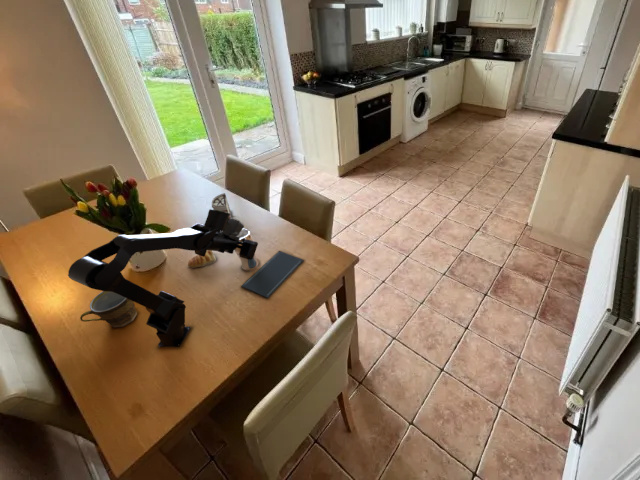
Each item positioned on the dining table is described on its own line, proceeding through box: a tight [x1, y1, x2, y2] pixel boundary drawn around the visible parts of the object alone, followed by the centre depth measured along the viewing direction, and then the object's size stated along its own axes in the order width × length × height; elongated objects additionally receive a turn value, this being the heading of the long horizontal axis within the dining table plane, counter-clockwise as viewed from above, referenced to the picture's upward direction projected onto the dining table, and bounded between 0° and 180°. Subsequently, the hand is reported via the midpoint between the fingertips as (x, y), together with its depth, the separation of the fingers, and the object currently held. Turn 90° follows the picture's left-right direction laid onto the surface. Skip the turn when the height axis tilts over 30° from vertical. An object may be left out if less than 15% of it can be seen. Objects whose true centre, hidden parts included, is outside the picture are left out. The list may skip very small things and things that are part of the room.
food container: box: [211, 192, 232, 219], centre depth 144 cm, size 12×6×10 cm, turn 25°
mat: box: [241, 250, 304, 299], centre depth 118 cm, size 20×12×1 cm, turn 155°
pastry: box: [187, 250, 217, 269], centre depth 122 cm, size 9×7×4 cm
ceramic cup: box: [79, 291, 138, 328], centre depth 98 cm, size 13×10×10 cm
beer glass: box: [234, 228, 259, 271], centre depth 117 cm, size 7×7×15 cm
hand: (247, 246), depth 118 cm, fingers closed on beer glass, 7 cm apart
